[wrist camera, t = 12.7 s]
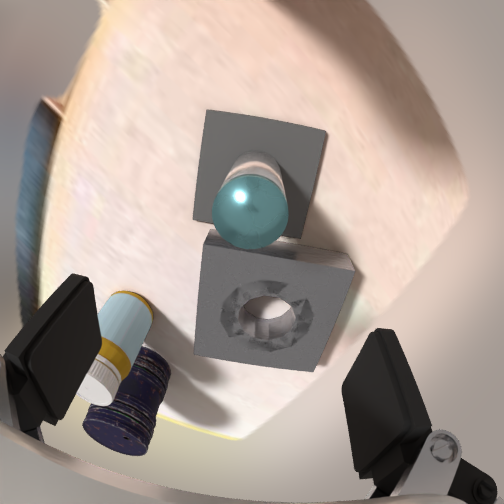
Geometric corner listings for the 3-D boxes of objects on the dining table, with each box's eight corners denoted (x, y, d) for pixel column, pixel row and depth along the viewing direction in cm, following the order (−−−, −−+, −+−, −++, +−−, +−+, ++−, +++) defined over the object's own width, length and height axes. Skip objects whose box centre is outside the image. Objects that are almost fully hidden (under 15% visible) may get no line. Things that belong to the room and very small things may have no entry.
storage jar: (143, 389, 49) (119, 457, 36) (105, 353, 45) (70, 422, 32) (183, 376, 46) (162, 454, 33) (142, 336, 43) (107, 415, 29)
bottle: (163, 310, 40) (125, 396, 27) (140, 335, 42) (104, 414, 29) (122, 278, 38) (68, 356, 25) (103, 307, 41) (55, 381, 27)
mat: (207, 109, 28) (206, 109, 28) (325, 130, 29) (325, 131, 28) (193, 217, 34) (192, 219, 33) (300, 236, 34) (300, 238, 34)
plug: (235, 146, 29) (217, 171, 19) (285, 155, 30) (296, 185, 19) (228, 193, 32) (207, 242, 21) (275, 201, 32) (279, 254, 21)
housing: (210, 228, 34) (203, 244, 31) (347, 253, 35) (355, 270, 31) (199, 334, 41) (193, 354, 38) (310, 351, 42) (313, 372, 38)
